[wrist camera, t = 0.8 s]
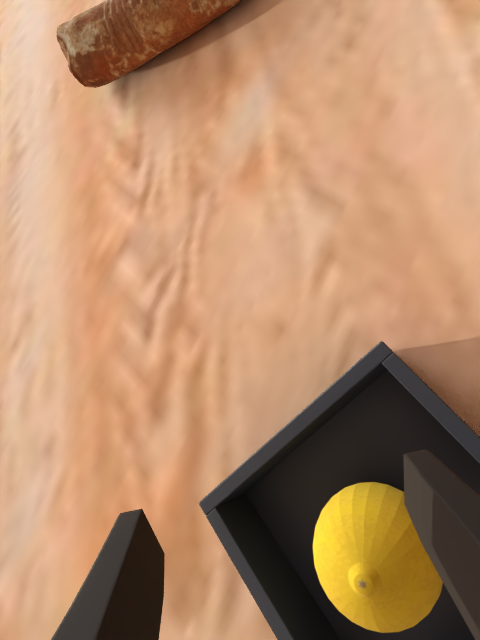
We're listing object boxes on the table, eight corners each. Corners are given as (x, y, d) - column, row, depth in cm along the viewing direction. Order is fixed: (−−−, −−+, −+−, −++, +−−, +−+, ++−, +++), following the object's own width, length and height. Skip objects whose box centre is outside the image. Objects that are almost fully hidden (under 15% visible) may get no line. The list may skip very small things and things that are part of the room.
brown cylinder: (98, 59, 41) (53, 12, 36) (260, -37, 34) (232, -112, 29) (96, 107, 40) (50, 65, 35) (266, 18, 32) (237, -51, 27)
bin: (614, 573, 17) (668, 623, 13) (381, 721, 20) (369, 798, 16) (389, 350, 23) (381, 340, 19) (232, 487, 26) (197, 503, 22)
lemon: (385, 450, 22) (365, 472, 15) (467, 542, 19) (489, 621, 12) (314, 508, 23) (263, 556, 16) (383, 603, 20) (360, 709, 13)
